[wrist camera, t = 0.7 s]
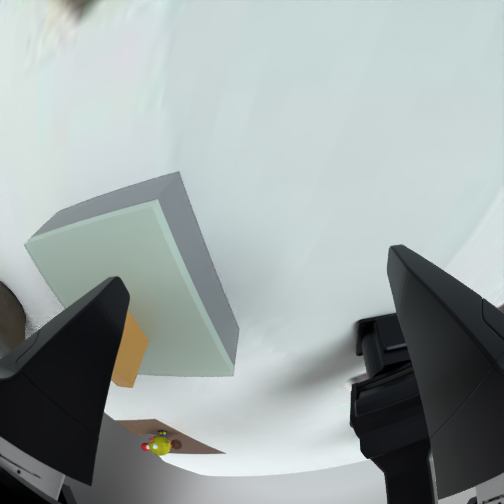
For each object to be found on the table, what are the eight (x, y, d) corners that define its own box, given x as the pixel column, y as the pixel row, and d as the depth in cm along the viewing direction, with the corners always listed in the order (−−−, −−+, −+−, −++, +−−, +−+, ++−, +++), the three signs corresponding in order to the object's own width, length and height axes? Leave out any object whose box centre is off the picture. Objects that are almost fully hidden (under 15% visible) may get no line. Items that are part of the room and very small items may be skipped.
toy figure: (171, 422, 52) (165, 449, 47) (191, 431, 54) (187, 457, 49) (137, 429, 60) (132, 451, 55) (155, 437, 62) (150, 458, 57)
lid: (235, 359, 27) (227, 422, 22) (123, 359, 30) (104, 408, 24) (163, 192, 18) (113, 257, 12) (36, 232, 20) (-11, 281, 14)
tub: (239, 329, 31) (234, 367, 27) (133, 334, 33) (121, 366, 29) (179, 171, 21) (155, 198, 17) (58, 211, 23) (29, 238, 19)
